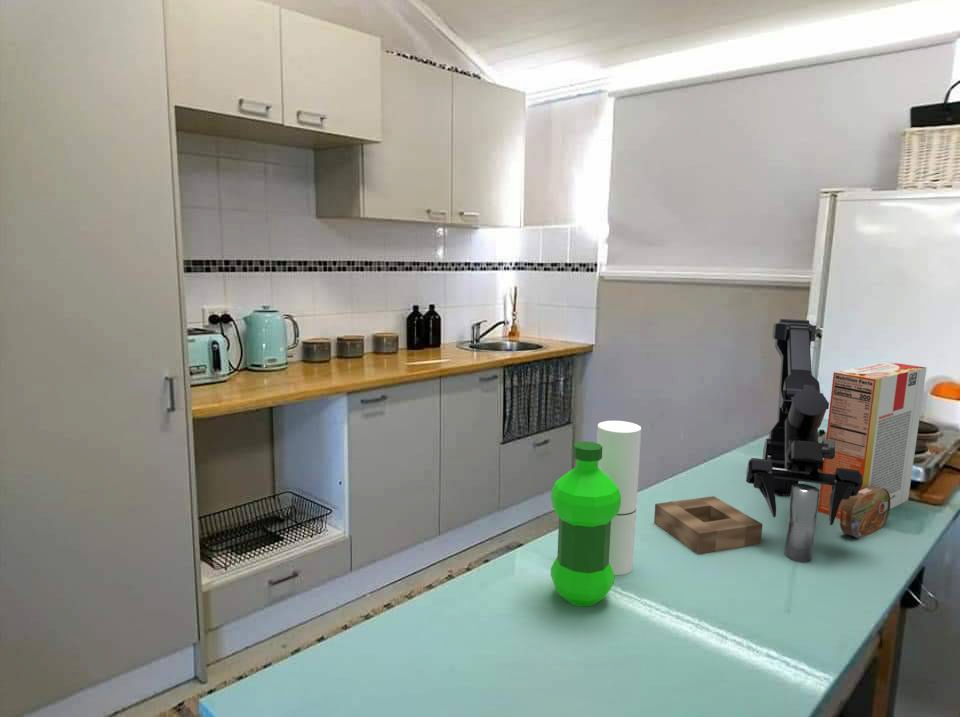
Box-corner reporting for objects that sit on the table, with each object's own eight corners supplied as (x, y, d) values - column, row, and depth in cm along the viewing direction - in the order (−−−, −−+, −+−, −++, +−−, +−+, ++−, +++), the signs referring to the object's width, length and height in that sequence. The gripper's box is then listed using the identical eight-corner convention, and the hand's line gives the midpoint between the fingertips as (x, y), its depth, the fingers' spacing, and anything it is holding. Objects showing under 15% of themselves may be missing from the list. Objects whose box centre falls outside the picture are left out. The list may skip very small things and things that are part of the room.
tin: (850, 543, 124) (855, 501, 123) (834, 536, 127) (839, 495, 125) (889, 525, 132) (894, 485, 131) (873, 519, 135) (878, 480, 133)
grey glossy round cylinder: (779, 552, 120) (786, 485, 117) (798, 549, 121) (805, 482, 119) (797, 563, 116) (805, 494, 113) (817, 560, 117) (825, 491, 115)
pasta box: (869, 489, 152) (886, 361, 146) (908, 500, 145) (926, 367, 140) (817, 511, 139) (833, 372, 133) (857, 524, 132) (875, 379, 127)
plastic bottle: (622, 591, 106) (631, 442, 101) (599, 623, 97) (607, 461, 92) (565, 574, 110) (570, 432, 106) (538, 603, 102) (543, 449, 97)
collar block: (654, 522, 132) (655, 503, 131) (712, 514, 136) (713, 496, 135) (697, 554, 119) (699, 533, 118) (760, 544, 123) (762, 524, 122)
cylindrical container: (630, 556, 117) (638, 421, 113) (635, 576, 110) (644, 433, 106) (589, 554, 118) (596, 419, 113) (592, 573, 111) (599, 431, 106)
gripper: (752, 416, 121) (750, 493, 113) (867, 427, 115) (873, 509, 107) (747, 445, 130) (744, 519, 122) (853, 456, 124) (858, 535, 116)
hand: (802, 520), depth 116 cm, fingers open, 9 cm apart
